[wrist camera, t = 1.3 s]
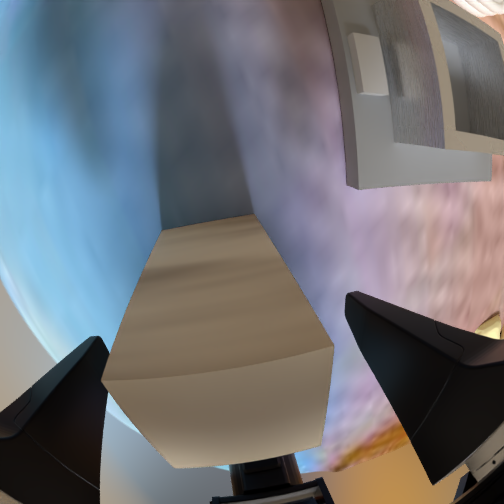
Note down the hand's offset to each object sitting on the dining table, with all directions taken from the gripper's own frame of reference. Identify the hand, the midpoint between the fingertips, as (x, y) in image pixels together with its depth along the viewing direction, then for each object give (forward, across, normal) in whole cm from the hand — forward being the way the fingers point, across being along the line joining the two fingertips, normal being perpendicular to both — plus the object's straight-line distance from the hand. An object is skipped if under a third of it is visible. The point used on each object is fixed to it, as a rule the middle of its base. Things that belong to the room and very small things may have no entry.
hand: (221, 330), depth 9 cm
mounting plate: (+5, -13, -9) cm, 17 cm away
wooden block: (+5, 0, 0) cm, 5 cm away
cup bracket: (+4, -13, -9) cm, 16 cm away
